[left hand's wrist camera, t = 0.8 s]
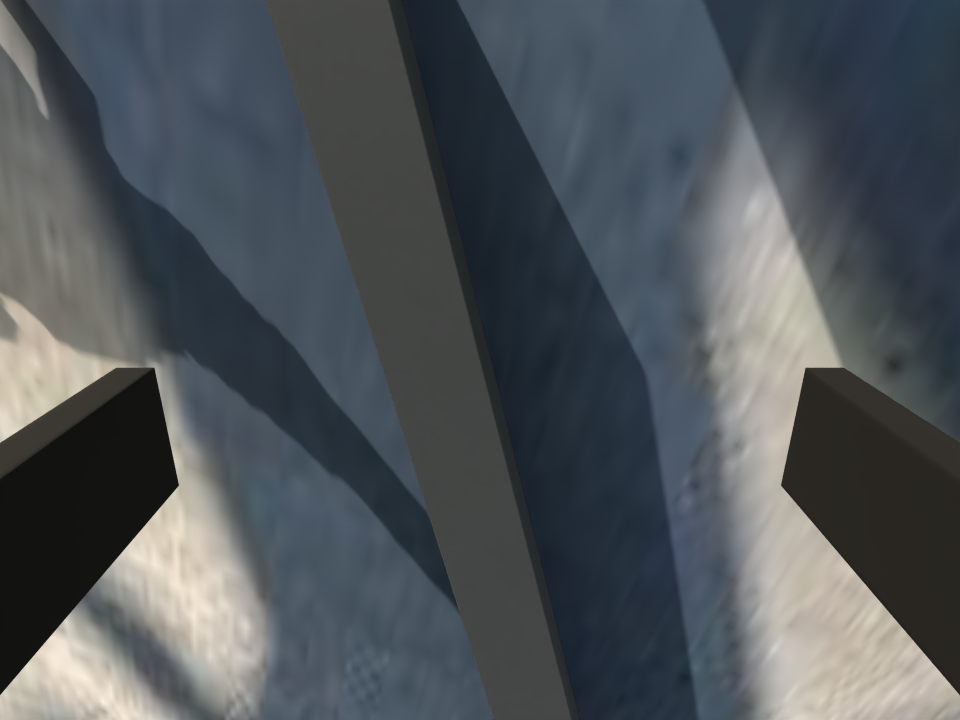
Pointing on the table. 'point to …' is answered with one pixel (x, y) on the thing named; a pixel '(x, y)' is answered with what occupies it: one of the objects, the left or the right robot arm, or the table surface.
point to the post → (427, 332)
